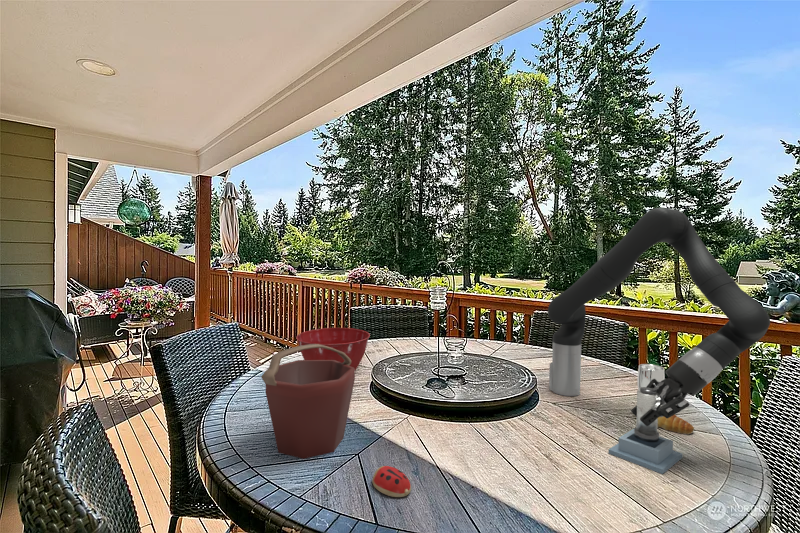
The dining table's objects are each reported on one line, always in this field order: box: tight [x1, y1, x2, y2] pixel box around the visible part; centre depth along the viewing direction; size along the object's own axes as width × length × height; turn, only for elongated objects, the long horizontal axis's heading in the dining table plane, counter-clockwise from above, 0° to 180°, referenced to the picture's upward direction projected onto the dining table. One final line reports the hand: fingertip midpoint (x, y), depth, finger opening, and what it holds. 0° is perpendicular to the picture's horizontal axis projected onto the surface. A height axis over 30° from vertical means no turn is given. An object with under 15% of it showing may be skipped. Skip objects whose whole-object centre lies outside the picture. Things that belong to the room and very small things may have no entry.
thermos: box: [633, 387, 660, 442], centre depth 102 cm, size 5×5×12 cm
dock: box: [607, 427, 684, 475], centre depth 103 cm, size 12×12×4 cm
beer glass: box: [636, 363, 666, 408], centre depth 126 cm, size 7×7×15 cm
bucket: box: [261, 344, 356, 460], centre depth 109 cm, size 24×22×25 cm
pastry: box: [657, 414, 695, 435], centre depth 118 cm, size 9×7×4 cm
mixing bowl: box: [295, 327, 371, 370], centre depth 167 cm, size 28×28×16 cm
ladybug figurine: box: [371, 465, 412, 498], centre depth 89 cm, size 7×10×4 cm
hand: (638, 418), depth 103 cm, fingers closed on thermos, 4 cm apart
